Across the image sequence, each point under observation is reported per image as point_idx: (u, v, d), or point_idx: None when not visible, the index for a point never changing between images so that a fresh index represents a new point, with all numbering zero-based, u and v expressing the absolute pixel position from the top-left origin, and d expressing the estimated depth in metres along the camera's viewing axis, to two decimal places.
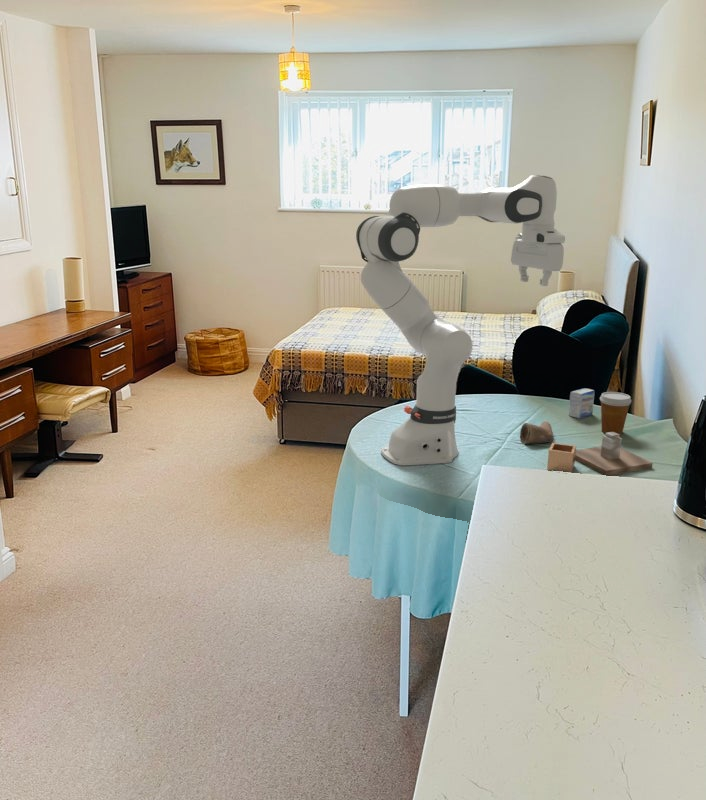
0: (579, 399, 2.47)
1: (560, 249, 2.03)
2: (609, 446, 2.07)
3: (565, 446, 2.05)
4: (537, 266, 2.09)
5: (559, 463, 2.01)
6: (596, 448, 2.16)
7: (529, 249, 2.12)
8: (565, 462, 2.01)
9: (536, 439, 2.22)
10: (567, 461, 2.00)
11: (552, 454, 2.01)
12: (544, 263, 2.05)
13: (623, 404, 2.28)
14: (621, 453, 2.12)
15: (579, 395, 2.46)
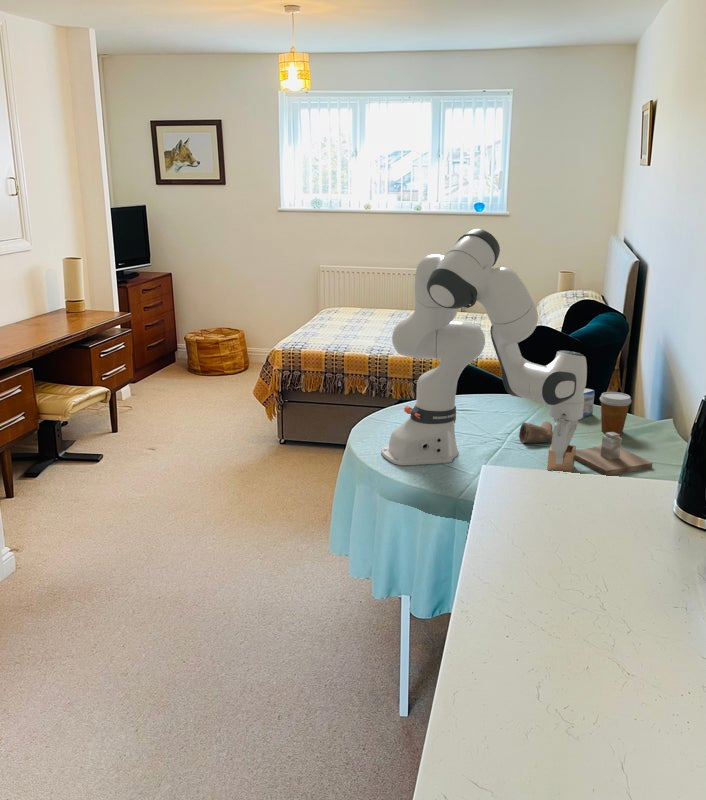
0: None
1: None
2: (609, 446, 2.07)
3: None
4: (572, 436, 2.04)
5: None
6: (596, 448, 2.16)
7: (570, 426, 1.99)
8: (565, 462, 2.01)
9: (534, 438, 2.23)
10: (567, 461, 2.00)
11: (552, 455, 2.01)
12: (574, 429, 2.07)
13: (623, 404, 2.28)
14: (621, 453, 2.12)
15: None
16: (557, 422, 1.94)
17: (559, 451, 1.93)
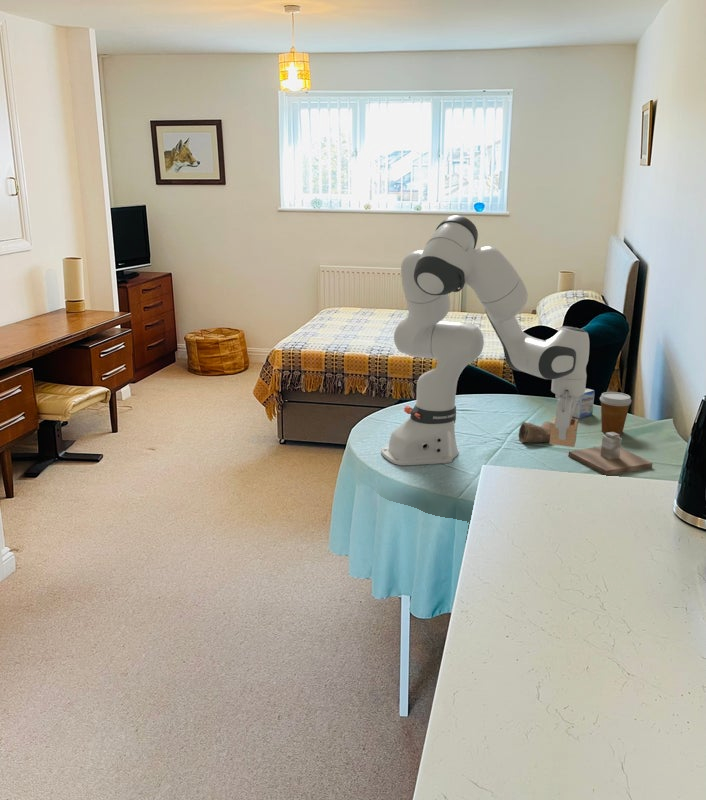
0: (579, 399, 2.47)
1: None
2: (609, 446, 2.07)
3: None
4: None
5: None
6: (596, 448, 2.16)
7: None
8: (567, 435, 1.99)
9: (534, 438, 2.23)
10: (570, 434, 1.99)
11: (555, 428, 2.00)
12: None
13: (623, 404, 2.28)
14: (621, 453, 2.12)
15: None
16: (560, 398, 1.94)
17: (563, 427, 1.93)
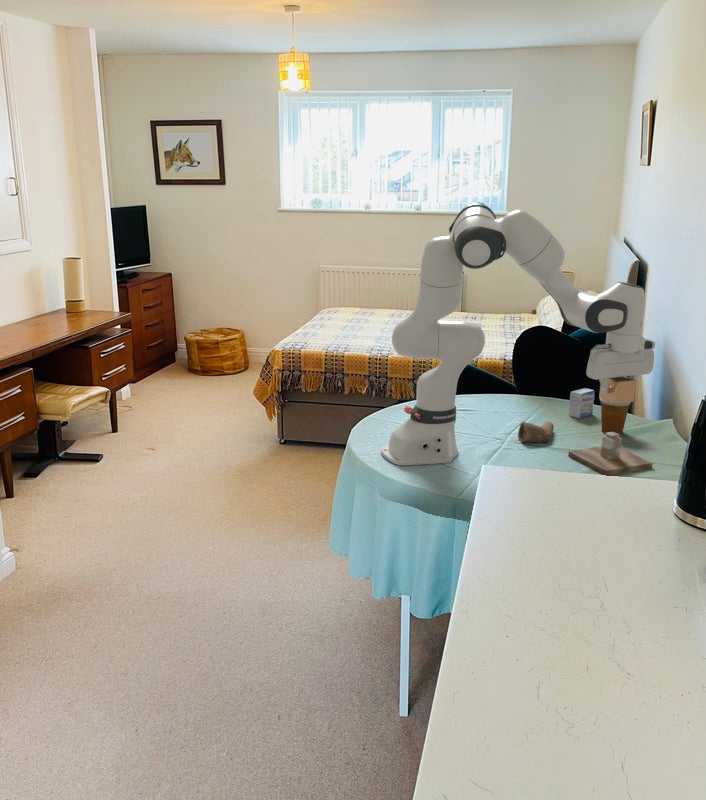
0: (579, 399, 2.47)
1: None
2: (609, 446, 2.07)
3: (627, 379, 2.03)
4: (633, 373, 2.02)
5: None
6: (596, 448, 2.16)
7: (621, 359, 1.99)
8: (611, 391, 2.01)
9: (532, 438, 2.24)
10: (613, 390, 2.00)
11: None
12: (643, 368, 2.03)
13: (623, 404, 2.28)
14: (621, 453, 2.12)
15: (579, 395, 2.46)
16: None
17: (591, 377, 1.98)
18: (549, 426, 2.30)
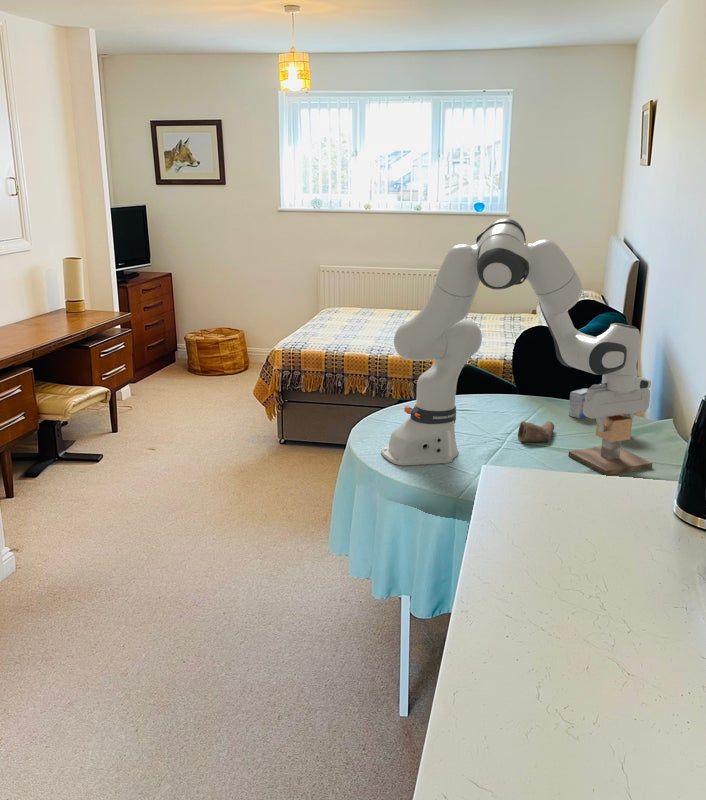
0: (579, 399, 2.47)
1: None
2: (609, 446, 2.07)
3: (623, 417, 2.06)
4: (629, 411, 2.05)
5: None
6: (596, 448, 2.16)
7: (617, 398, 2.02)
8: (607, 429, 2.04)
9: (532, 437, 2.24)
10: (609, 429, 2.03)
11: None
12: (639, 406, 2.05)
13: None
14: (621, 453, 2.12)
15: (579, 395, 2.46)
16: None
17: (587, 416, 2.01)
18: (549, 426, 2.30)
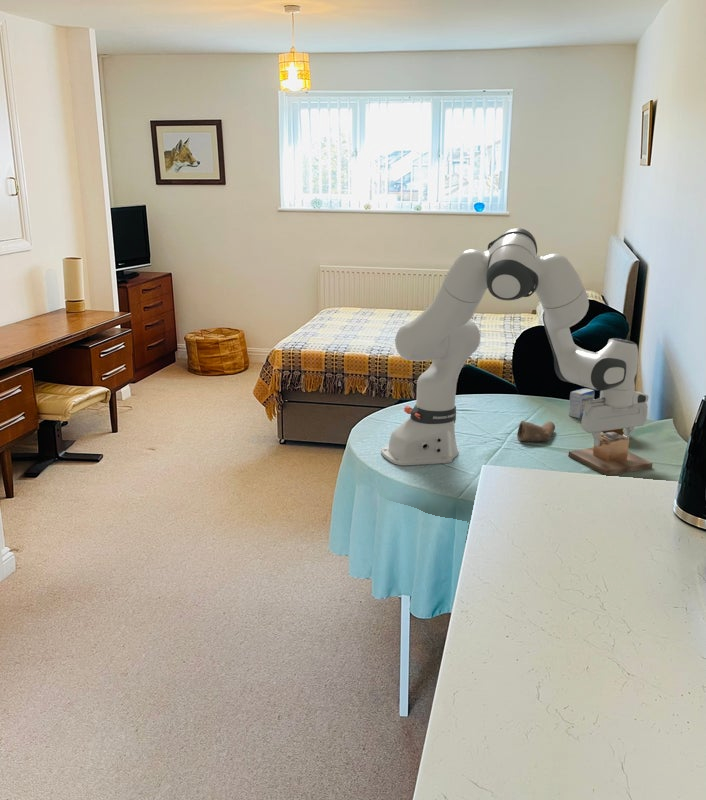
0: (579, 399, 2.47)
1: None
2: None
3: (620, 437, 2.08)
4: (627, 425, 2.06)
5: (601, 449, 2.08)
6: None
7: (615, 412, 2.04)
8: (604, 449, 2.06)
9: (531, 437, 2.24)
10: (606, 449, 2.06)
11: None
12: (637, 420, 2.07)
13: None
14: None
15: (579, 395, 2.46)
16: None
17: (585, 430, 2.03)
18: (549, 426, 2.30)
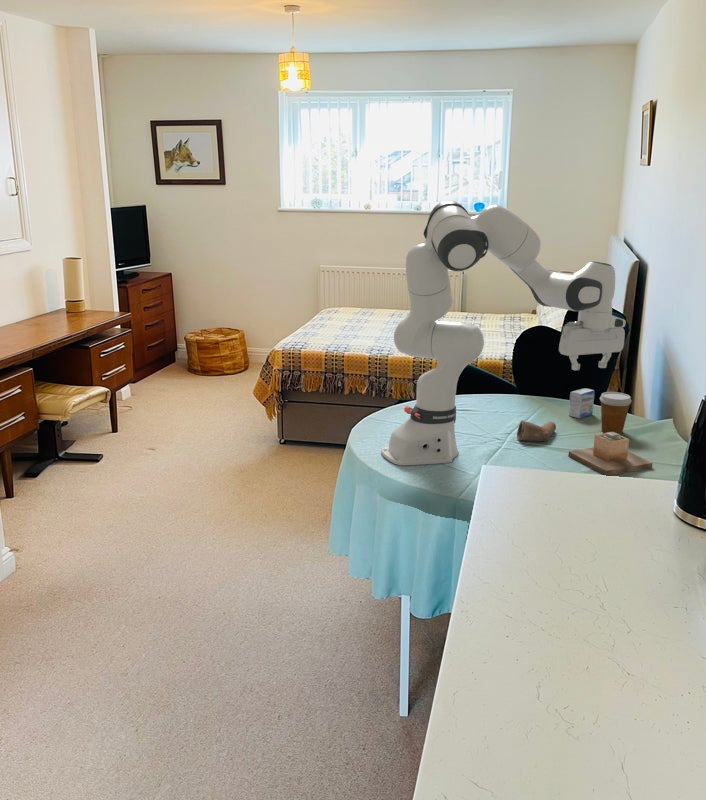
0: (579, 399, 2.47)
1: None
2: None
3: (620, 437, 2.08)
4: (604, 350, 2.08)
5: (601, 449, 2.08)
6: None
7: (592, 336, 2.05)
8: (604, 449, 2.06)
9: (530, 437, 2.24)
10: (606, 449, 2.06)
11: (597, 440, 2.09)
12: (614, 346, 2.09)
13: (623, 404, 2.28)
14: None
15: (579, 395, 2.46)
16: None
17: (563, 353, 2.04)
18: (549, 426, 2.30)
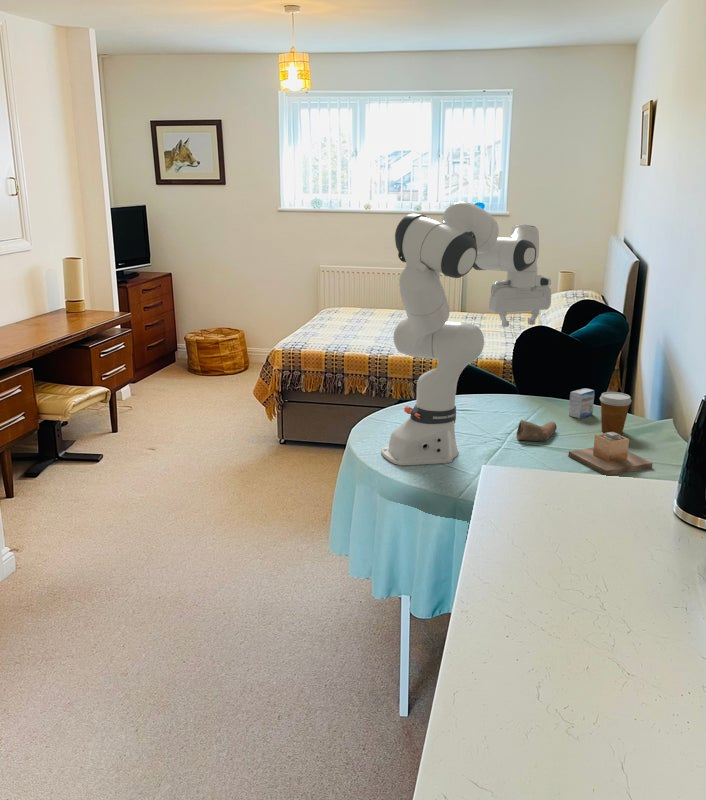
0: (579, 399, 2.47)
1: None
2: None
3: (620, 437, 2.08)
4: (532, 308, 2.24)
5: (601, 449, 2.08)
6: None
7: (520, 294, 2.21)
8: (604, 449, 2.06)
9: (529, 436, 2.25)
10: (606, 449, 2.06)
11: (597, 440, 2.09)
12: (541, 303, 2.24)
13: (623, 404, 2.28)
14: None
15: (579, 395, 2.46)
16: None
17: (492, 310, 2.20)
18: (550, 426, 2.30)
